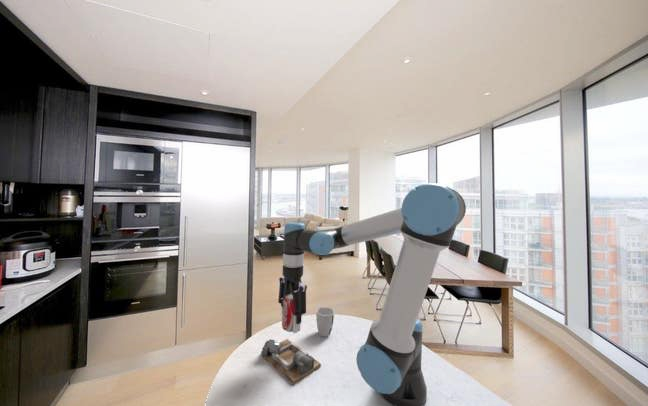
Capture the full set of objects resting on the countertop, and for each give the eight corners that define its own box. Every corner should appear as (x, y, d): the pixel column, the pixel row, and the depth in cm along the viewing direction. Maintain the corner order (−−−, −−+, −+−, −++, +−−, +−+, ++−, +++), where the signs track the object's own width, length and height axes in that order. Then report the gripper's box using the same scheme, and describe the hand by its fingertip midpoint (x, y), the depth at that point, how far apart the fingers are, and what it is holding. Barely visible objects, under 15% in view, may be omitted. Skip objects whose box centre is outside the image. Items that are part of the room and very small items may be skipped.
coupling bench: (320, 366, 81) (321, 352, 81) (293, 384, 73) (294, 368, 73) (287, 341, 96) (287, 329, 96) (261, 354, 87) (261, 340, 87)
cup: (333, 339, 99) (334, 315, 99) (314, 338, 99) (315, 315, 99) (333, 329, 107) (334, 307, 107) (315, 328, 107) (316, 306, 107)
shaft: (282, 350, 88) (283, 339, 88) (276, 359, 83) (276, 348, 83) (269, 347, 90) (269, 337, 90) (262, 356, 84) (262, 345, 84)
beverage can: (296, 334, 81) (297, 300, 81) (279, 332, 82) (280, 298, 82) (301, 325, 87) (302, 293, 87) (285, 323, 88) (287, 291, 88)
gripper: (318, 268, 80) (316, 335, 80) (286, 258, 94) (284, 314, 94) (301, 272, 75) (299, 343, 75) (270, 261, 89) (267, 321, 89)
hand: (290, 327), depth 84 cm, fingers closed on beverage can, 6 cm apart
